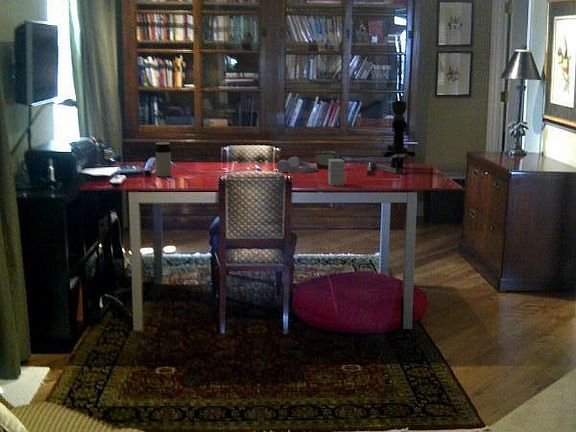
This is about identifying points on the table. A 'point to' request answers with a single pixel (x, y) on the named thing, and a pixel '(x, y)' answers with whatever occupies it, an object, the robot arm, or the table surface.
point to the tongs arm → (389, 169)
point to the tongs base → (370, 167)
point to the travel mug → (163, 159)
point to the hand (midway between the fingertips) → (397, 169)
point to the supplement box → (336, 172)
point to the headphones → (295, 165)
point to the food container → (324, 158)
